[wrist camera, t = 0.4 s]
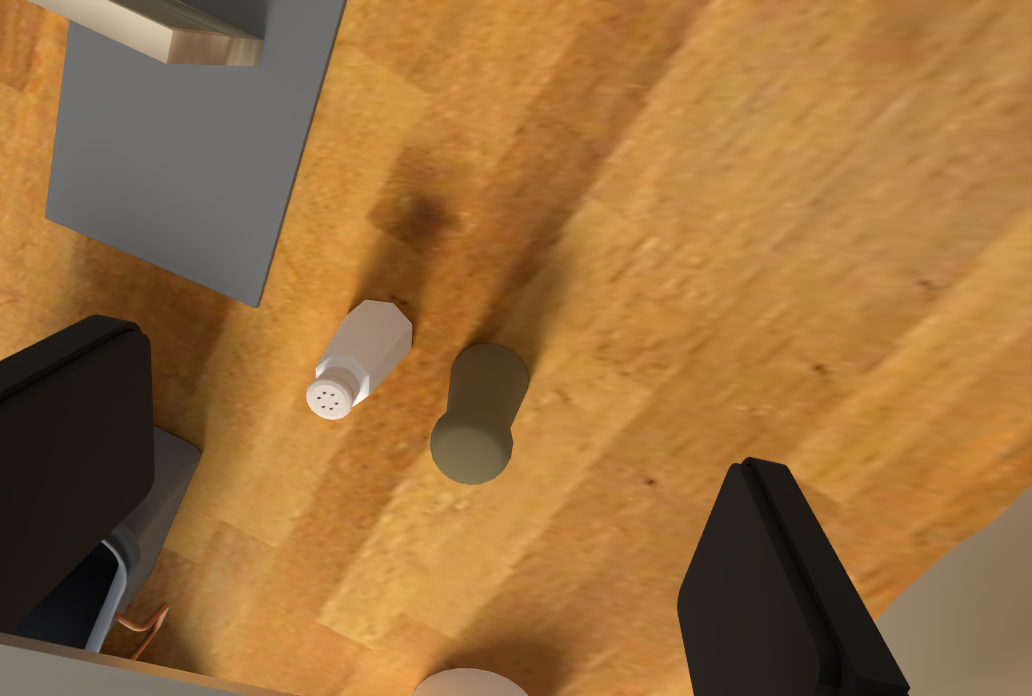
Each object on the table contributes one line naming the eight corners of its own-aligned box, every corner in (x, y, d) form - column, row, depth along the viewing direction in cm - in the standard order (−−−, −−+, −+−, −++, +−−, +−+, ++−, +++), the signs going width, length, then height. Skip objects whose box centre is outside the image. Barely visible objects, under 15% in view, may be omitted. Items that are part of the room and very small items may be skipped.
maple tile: (141, -18, 39) (10, -46, 30) (264, 40, 40) (172, 30, 31) (136, 9, 40) (6, -10, 31) (258, 66, 41) (166, 63, 31)
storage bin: (88, 360, 51) (-79, 459, 38) (266, 449, 53) (166, 572, 40) (34, 538, 59) (-120, 670, 46) (190, 610, 61) (85, 756, 48)
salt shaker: (332, 307, 47) (268, 371, 37) (400, 289, 46) (352, 349, 36) (359, 371, 49) (305, 448, 39) (425, 355, 48) (386, 430, 38)
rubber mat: (98, -160, 37) (92, -163, 36) (356, -34, 38) (353, -36, 38) (50, 216, 46) (44, 217, 46) (259, 306, 48) (256, 308, 47)
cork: (434, 370, 49) (398, 447, 39) (496, 328, 47) (475, 397, 37) (482, 427, 50) (460, 515, 40) (544, 388, 49) (537, 470, 38)
